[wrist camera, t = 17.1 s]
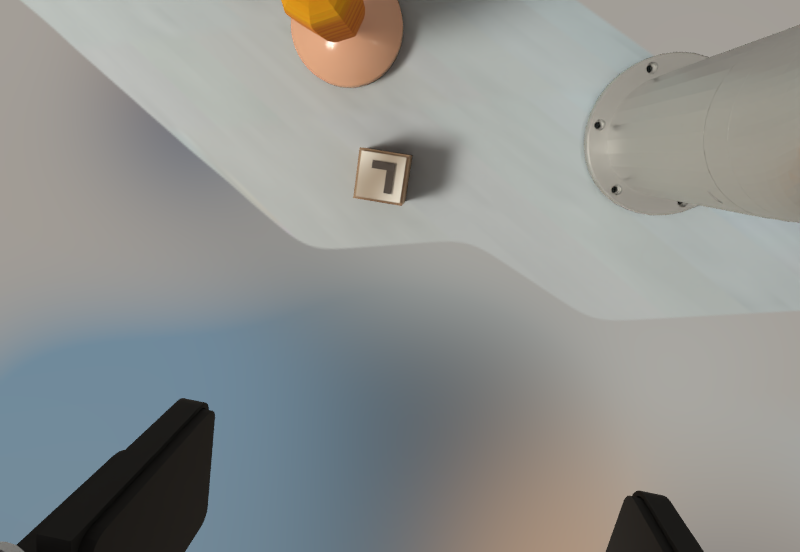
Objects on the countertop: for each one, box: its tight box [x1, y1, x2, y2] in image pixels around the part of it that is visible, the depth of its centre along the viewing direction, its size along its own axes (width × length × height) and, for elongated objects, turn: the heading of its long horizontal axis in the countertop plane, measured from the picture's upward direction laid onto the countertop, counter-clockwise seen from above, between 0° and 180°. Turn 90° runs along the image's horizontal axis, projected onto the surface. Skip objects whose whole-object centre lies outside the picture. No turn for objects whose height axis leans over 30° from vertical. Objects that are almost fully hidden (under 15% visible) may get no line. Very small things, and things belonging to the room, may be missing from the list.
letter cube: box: [353, 148, 412, 206], centre depth 40 cm, size 4×4×4 cm
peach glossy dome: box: [291, 0, 403, 88], centre depth 38 cm, size 9×9×1 cm
